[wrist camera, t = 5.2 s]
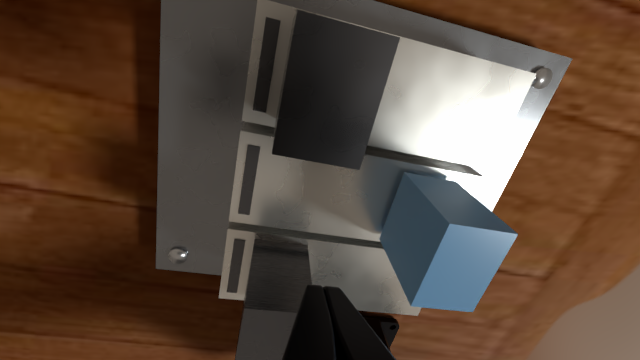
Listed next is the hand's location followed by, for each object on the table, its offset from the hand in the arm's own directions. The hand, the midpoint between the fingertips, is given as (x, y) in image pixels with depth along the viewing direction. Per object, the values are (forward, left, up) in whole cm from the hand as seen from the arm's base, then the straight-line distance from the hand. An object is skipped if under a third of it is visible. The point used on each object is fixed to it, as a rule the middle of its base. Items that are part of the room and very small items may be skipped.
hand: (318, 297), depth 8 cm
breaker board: (0, -3, -11) cm, 11 cm away
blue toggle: (0, -5, -6) cm, 8 cm away
